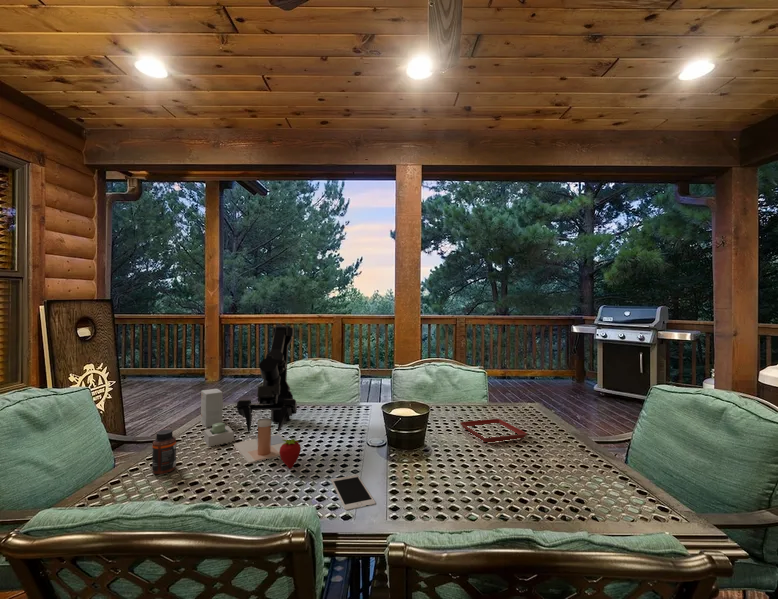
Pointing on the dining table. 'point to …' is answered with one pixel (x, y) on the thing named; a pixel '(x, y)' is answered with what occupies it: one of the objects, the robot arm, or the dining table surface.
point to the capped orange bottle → (264, 436)
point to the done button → (218, 428)
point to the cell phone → (352, 492)
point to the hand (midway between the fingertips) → (263, 431)
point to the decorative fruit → (290, 452)
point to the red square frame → (472, 423)
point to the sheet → (251, 449)
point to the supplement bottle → (164, 452)
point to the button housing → (218, 437)
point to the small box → (211, 407)
